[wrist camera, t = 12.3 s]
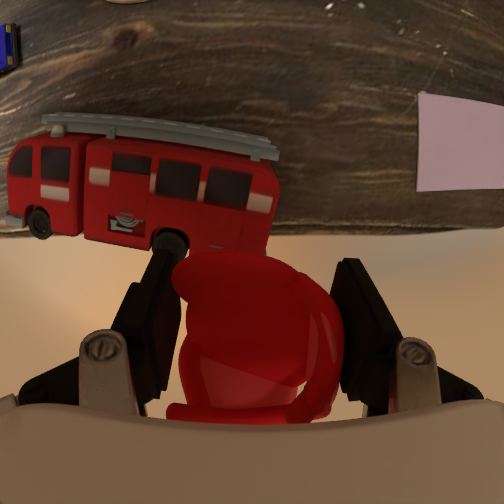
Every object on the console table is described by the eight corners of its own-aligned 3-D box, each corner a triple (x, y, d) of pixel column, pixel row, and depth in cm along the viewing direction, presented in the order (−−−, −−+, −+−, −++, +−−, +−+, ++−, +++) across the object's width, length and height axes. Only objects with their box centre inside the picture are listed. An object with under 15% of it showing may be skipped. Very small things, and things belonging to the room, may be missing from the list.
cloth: (415, 190, 28) (416, 191, 28) (416, 92, 23) (418, 93, 23) (512, 187, 27) (513, 188, 27) (518, 109, 22) (519, 110, 22)
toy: (48, 203, 27) (52, 109, 23) (256, 239, 30) (281, 137, 26) (4, 235, 20) (0, 118, 16) (262, 285, 23) (297, 151, 19)
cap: (194, 437, 12) (189, 321, 16) (324, 424, 12) (304, 309, 16) (120, 433, 6) (135, 222, 9) (389, 407, 6) (332, 201, 9)
